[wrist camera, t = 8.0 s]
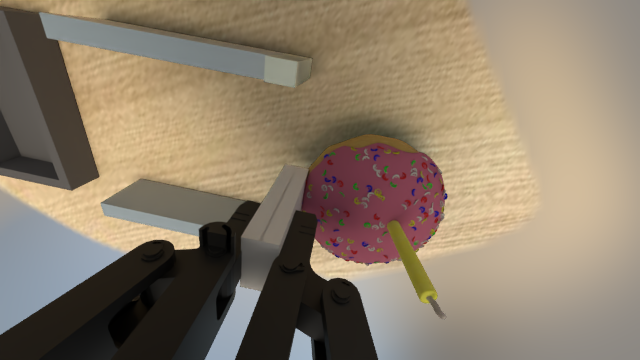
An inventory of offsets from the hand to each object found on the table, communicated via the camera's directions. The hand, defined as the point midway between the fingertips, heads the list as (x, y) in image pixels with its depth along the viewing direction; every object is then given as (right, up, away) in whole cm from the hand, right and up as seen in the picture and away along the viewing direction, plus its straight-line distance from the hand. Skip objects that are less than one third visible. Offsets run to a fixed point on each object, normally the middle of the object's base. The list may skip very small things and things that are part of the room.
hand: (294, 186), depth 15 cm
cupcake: (+5, +1, +4) cm, 7 cm away
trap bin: (-21, +7, +5) cm, 23 cm away
